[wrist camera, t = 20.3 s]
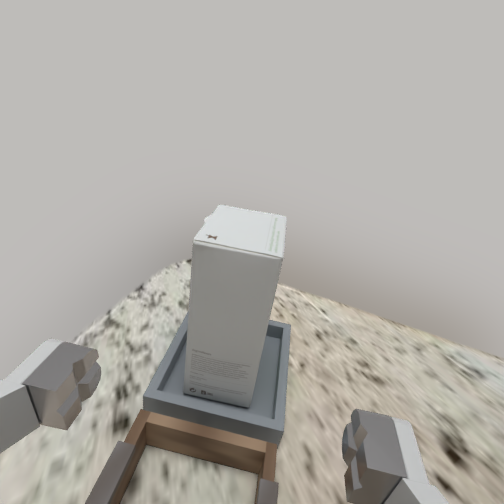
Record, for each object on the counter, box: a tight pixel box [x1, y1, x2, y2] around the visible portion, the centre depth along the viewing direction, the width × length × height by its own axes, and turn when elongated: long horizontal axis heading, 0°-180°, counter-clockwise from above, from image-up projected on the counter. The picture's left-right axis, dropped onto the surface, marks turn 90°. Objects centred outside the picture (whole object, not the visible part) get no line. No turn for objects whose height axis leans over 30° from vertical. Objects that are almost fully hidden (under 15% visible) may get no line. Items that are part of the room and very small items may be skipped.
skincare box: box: [183, 205, 287, 407], centre depth 27 cm, size 8×7×16 cm
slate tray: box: [143, 311, 291, 449], centre depth 31 cm, size 12×13×2 cm
